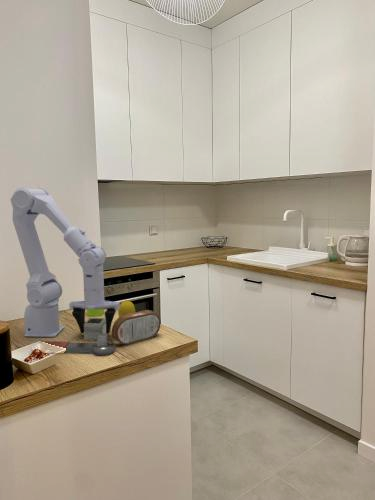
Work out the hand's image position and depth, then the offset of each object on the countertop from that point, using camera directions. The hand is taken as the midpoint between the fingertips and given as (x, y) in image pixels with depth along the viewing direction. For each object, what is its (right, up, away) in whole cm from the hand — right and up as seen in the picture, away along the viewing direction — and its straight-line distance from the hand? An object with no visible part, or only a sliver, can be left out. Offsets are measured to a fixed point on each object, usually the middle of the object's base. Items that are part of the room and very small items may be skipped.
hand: (95, 332), depth 110 cm
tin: (+13, -2, -2) cm, 13 cm away
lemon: (+8, 0, +12) cm, 14 cm away
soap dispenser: (-5, +2, +21) cm, 22 cm away
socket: (0, -1, 0) cm, 1 cm away
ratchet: (-3, -3, -10) cm, 10 cm away
